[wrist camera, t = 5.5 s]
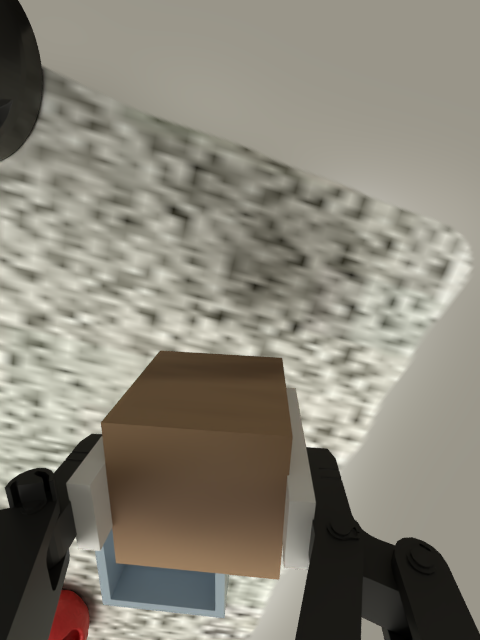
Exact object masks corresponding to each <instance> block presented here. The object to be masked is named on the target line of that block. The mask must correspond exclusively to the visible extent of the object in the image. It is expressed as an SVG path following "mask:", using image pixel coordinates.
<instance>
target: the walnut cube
mask: <svg viewBox="0 0 480 640" xmlns="http://www.w3.org/2000/svg"><path fill="white" fill-rule="evenodd" d="M101 427H102V437H103V446H104V456H105V465H106V474H107V484H108V492H109V500H110V508H111V516H112V524H113V527H112V531H113V540H114V550H115V559H116V563H120V564H130V565H140V566H150V567H160V568H170V569H179V570H189V571H199V572H209V573H219V574H229V575H239V576H249V577H259V578H269V579H279V576H280V565H281V555H282V544H283V541H282V540H283V526H284V513H285V500H286V487H287V475H289V471H290V461H291V450H292V440H293V435H292V427H291V420H290V413H289V405H288V398H287V391H286V383H285V376H284V369H283V361H282V358H274V357H257V356H240V355H223V354H207V353H190V352H173V351H160V352H159V353H158V354H157V355H156V356H155V358H154V359H153V360H152V361H151V363H150V364H149V365H148V366H147V367H146V369H145V370H144V371H143V372H142V373H141V375H140V376H139V377H138V378H137V380H136V381H135V382H134V383H133V384H132V386H131V387H130V388H129V389H128V390H127V392H126V393H125V394H124V395H123V396H122V398H121V399H120V400H119V401H118V403H117V404H116V405H115V406H114V407H113V409H112V410H111V411H110V412H109V413H108V415H107V416H106V417H105V418H104V420H103V421H102V422H101Z"/></svg>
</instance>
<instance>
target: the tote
mask: <svg viewBox="0 0 480 640" xmlns="http://www.w3.org/2000/svg"><path fill="white" fill-rule="evenodd" d="M95 554H96V560H97V567H98V574H99V580H100V587H101V594H102V600H103V605H110V606H119V607H129V608H138V609H147V610H156V611H165V612H174V613H183V614H192V615H201V616H210V617H219V618H224V617H225V607H226V598H227V589H228V580H229V574H219V573H209V572H199V571H189V570H179V569H170V568H160V567H150V566H140V565H130V564H120V563H116V559H115V550H114V540H113V531H112V529H111V531H110V533H109V535H108V537H107V539H106V541H105V543H104V545H103V547H102V549H101V551H95Z"/></svg>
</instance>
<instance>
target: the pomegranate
mask: <svg viewBox="0 0 480 640" xmlns="http://www.w3.org/2000/svg"><path fill="white" fill-rule="evenodd" d="M88 629H89V612H88V607H87V605H86V604H85V603H84V602H83V600H82V599H81V598H80V597H79V596H78V595H77V594H76V593H75V592H73V591H70V590H61V594H60V598H59V601H58V605H57V609H56V612H55V616H54V620H53V624H52V627H51V631H50V635H49V639H48V640H86V639H87V636H88Z"/></svg>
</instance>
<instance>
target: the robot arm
mask: <svg viewBox="0 0 480 640" xmlns="http://www.w3.org/2000/svg"><path fill="white" fill-rule="evenodd" d="M41 95H42V68H41V61H40V54H39V50H38V46H37V42H36V39H35V35H34V33H33V30H32V27H31V25H30V22H29V20H28V18H27V16H26V14H25V12H24V10H23V8H22V6H21V4H20V3H19V1H18V0H0V161H1V160H3V159H5V158H7V157H8V156H10V155H11V154H12V153H14V152H15V151H16V150H17V149H18V148H19V147H20V146H21V145H22V144H23V142H24V141H25V140H26V138H27V137H28V135H29V133H30V132H31V130H32V128H33V126H34V123H35V121H36V118H37V115H38V111H39V107H40V102H41ZM286 391H287V398H288V405H289V413H290V420H291V427H292V435H293V440H292V450H291V461H290V471H289V475H287V487H286V500H285V513H284V526H283V540H282V541H283V560H284V568H291V569H302V570H308V574H307V580H306V585H305V590H304V595H303V601H302V606H301V611H300V617H299V622H298V627H297V632H296V638H295V640H361V617H362V618H365V619H367V620H369V621H371V622H373V623H375V624H377V625H379V626H381V627H382V631H383V635H384V639H385V640H480V634H479V631H478V629H477V627H476V625H475V623H474V621H473V618H472V616H471V614H470V612H469V610H468V608H467V606H466V604H465V601H464V599H463V597H462V595H461V593H460V590H459V588H458V586H457V584H456V582H455V580H454V577H453V575H452V573H451V571H450V569H449V567H448V565H447V563H446V562H445V560H444V559H443V557H442V555H441V554H440V553H439V552H438V551H437V550H436V549H434V548H433V547H432V546H431V545H429V544H427V543H426V542H424V541H422V540H418V539H416V538H412V537H411V538H402V539H401V540H399V541H397V543H396V545H392V544H389V543H387V542H384V541H381V540H379V539H377V538H374V537H372V536H371V535H369V534H368V533H366V532H365V531H363V530H362V529H361V527H360V526H359V524H358V522H357V521H355V520H354V518H353V516H352V513H351V510H350V507H349V503H348V500H347V496H346V493H345V490H344V486H343V483H342V480H341V476H340V472H339V469H338V465H337V462H336V458H335V457H334V456H333V455H332V454H331V452H330V451H329V450H328V449H324V448H309V447H306V444H305V438H304V433H303V427H302V421H301V416H300V410H299V405H298V399H297V393H296V388H286ZM5 490H6V494H7V498H8V502H9V506H10V508H7V509H3V510H0V640H48V639H49V635H50V631H51V627H52V624H53V620H54V616H55V612H56V609H57V605H58V601H59V598H60V594H61V590H62V586H63V583H64V579H65V575H66V571H67V568H68V564H69V557H70V554H69V547H70V545H71V544H72V542H73V540H74V539H75V537H76V539H77V545H78V549H84V550H95V551H101V549H102V547H103V545H104V543H105V541H106V539H107V537H108V535H109V533H110V531H111V529H112V527H113V524H112V516H111V508H110V500H109V492H108V484H107V474H106V465H105V456H104V446H103V437H102V434H91V435H89V436H88V437H86V438H85V439H83V440H82V441H81V442H80V443H79V444H78V445H77V446H76V447H75V449H74V450H73V451H72V453H70V455H69V456H68V457H67V458H66V461H64V462H63V463H62V464H61V465H60V467H59V468H58V469H57V470H56V471H55V473H54V474H53V472H52V471H51V470H49V469H46V468H36V469H32V470H28V471H26V472H24V473H21V474H19V475H18V476H16V477H15V478H14V479H12V480H11V481H10V482H9V483H8V484H7V486H6V487H5ZM309 563H310V564H309ZM308 566H309V569H308Z"/></svg>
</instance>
